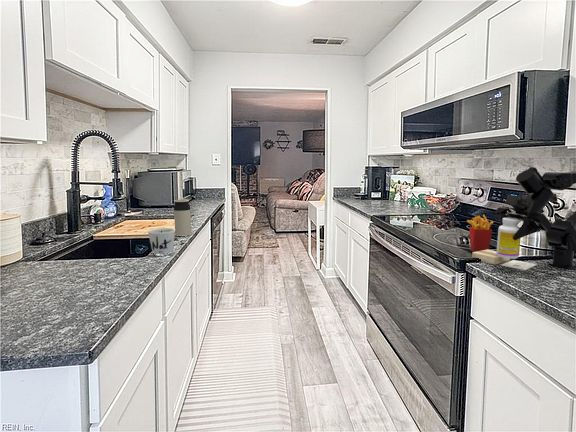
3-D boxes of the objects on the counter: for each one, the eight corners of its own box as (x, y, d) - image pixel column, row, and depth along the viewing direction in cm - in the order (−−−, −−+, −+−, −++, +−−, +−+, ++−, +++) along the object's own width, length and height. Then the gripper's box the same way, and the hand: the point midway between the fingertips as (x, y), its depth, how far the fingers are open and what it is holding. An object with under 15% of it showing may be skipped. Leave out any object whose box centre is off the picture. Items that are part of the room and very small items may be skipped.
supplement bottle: (521, 259, 131) (525, 221, 128) (499, 259, 132) (503, 220, 130) (514, 254, 137) (518, 217, 135) (493, 253, 138) (496, 216, 136)
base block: (487, 255, 155) (487, 249, 154) (509, 260, 147) (510, 254, 146) (471, 258, 150) (472, 252, 150) (494, 264, 143) (494, 257, 142)
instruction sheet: (513, 260, 148) (513, 259, 147) (537, 264, 141) (537, 264, 141) (500, 265, 141) (500, 264, 141) (525, 270, 135) (525, 269, 135)
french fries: (491, 254, 156) (494, 216, 154) (469, 254, 157) (471, 216, 154) (482, 249, 165) (484, 213, 162) (461, 249, 165) (463, 213, 163)
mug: (147, 258, 159) (146, 233, 157) (152, 249, 173) (151, 227, 172) (175, 256, 161) (173, 232, 159) (177, 248, 175) (176, 225, 174)
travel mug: (185, 237, 198) (183, 201, 195) (172, 236, 201) (169, 200, 198) (194, 234, 206) (192, 199, 203) (181, 233, 208) (179, 199, 206)
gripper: (501, 184, 140) (472, 216, 140) (546, 188, 123) (513, 226, 122) (518, 205, 143) (490, 237, 143) (565, 212, 126) (533, 249, 125)
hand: (505, 237), depth 133 cm, fingers closed on supplement bottle, 7 cm apart
